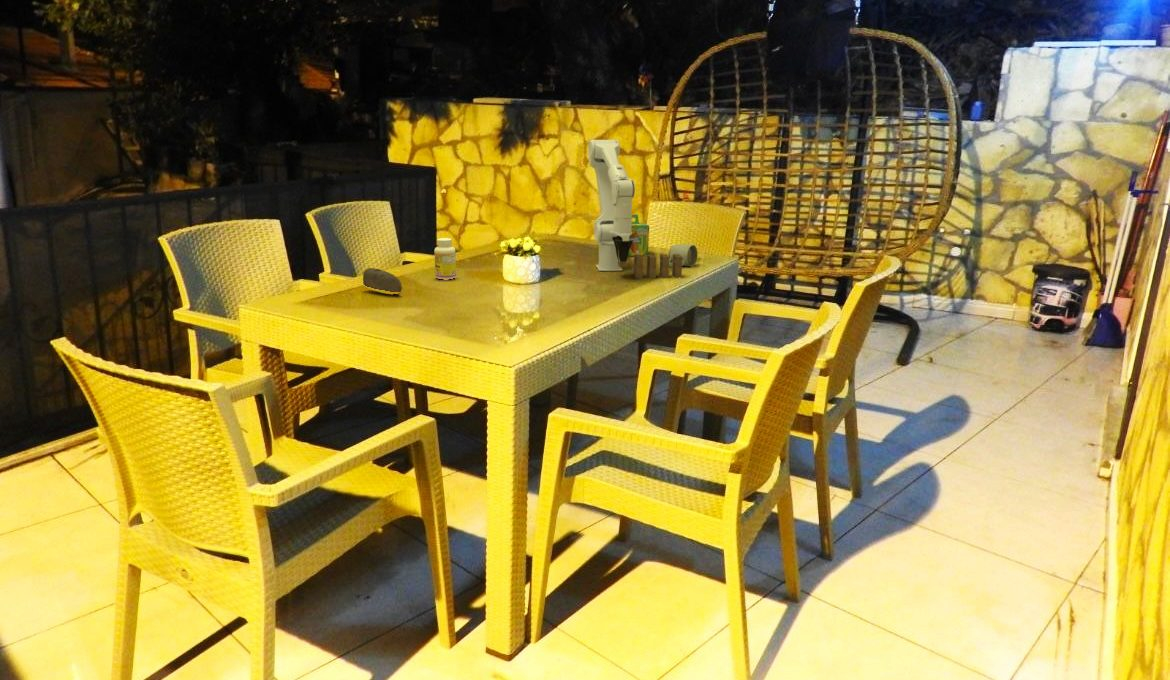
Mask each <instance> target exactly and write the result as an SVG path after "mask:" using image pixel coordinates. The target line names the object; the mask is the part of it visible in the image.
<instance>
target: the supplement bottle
mask: <svg viewBox="0 0 1170 680" xmlns="http://www.w3.org/2000/svg"><path fill="white" fill-rule="evenodd" d="M436 243H437V246H436V247H435V248H434V251H433V252H434V274H435V279H436V278H440V279H453V278H455V279H456V278H457V260H456V259H457V258H456V256H457V255H456V248H455V246H452V245H453V244H452V243H453V239H452V238H450V237H440V238H437V240H436ZM453 280H454V279H453Z"/></svg>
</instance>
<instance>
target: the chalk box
mask: <svg viewBox="0 0 1170 680" xmlns="http://www.w3.org/2000/svg"><path fill="white" fill-rule="evenodd" d="M632 218H634V219H635V220H634V221H632V223H631V231H632V234H631V235H630V236H629V237H630V238H629V240H633V243H632V245H631V247H630V250H629V254H628V258H629V257H634V255H647V254H649V245H650V244H649V241H650V240H649V239H650V225H649V224H646V223H643V222H639V215H638V214H632Z"/></svg>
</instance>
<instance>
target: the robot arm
mask: <svg viewBox="0 0 1170 680" xmlns="http://www.w3.org/2000/svg"><path fill="white" fill-rule="evenodd" d="M587 147H588V149H587V152H588V161H589V165H590V168H593V169H594V171H595V176H596V184H597V192H598V200H599V207H600V215H599V217H597V218H596V219H595V221H594V222H593V223H594V224H593V228H594V229H593V235H594V240H595V241H596V243H598V264H595V268H597V270H598V271H599V272H600V271H601V272H610V271H611V272H613V271H614V272H616V271H619V272H620V271H623V267H620V266H619V265H618V252H619V259H620V262H626V263H627V261H628V258H629V257H628V254H629V250H630V247H631V245H632V243H633V240H629V238H630V237H629V236H630V235H631V234H632V231H631V223H632V222H633V220H632V215H633V213H632V210H633V198H634V196H635V193H636V185H635V182H634V180H633V179H632V178H629V176H628V174H627V171H626V169H625V167H624V166H623V165H622V164H620V161H619V156H620V153H621V145H620V142H619V139H590V141H589V142H588V146H587Z"/></svg>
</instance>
